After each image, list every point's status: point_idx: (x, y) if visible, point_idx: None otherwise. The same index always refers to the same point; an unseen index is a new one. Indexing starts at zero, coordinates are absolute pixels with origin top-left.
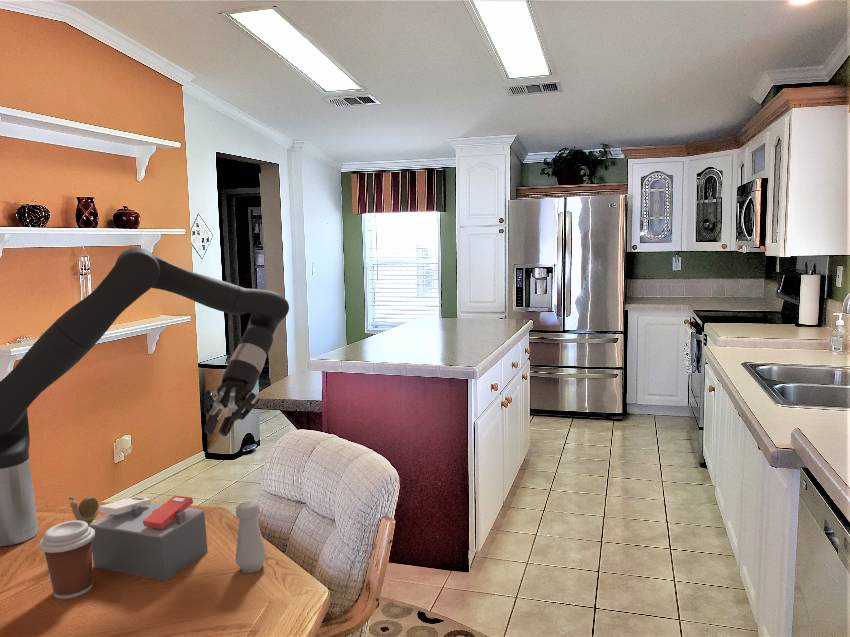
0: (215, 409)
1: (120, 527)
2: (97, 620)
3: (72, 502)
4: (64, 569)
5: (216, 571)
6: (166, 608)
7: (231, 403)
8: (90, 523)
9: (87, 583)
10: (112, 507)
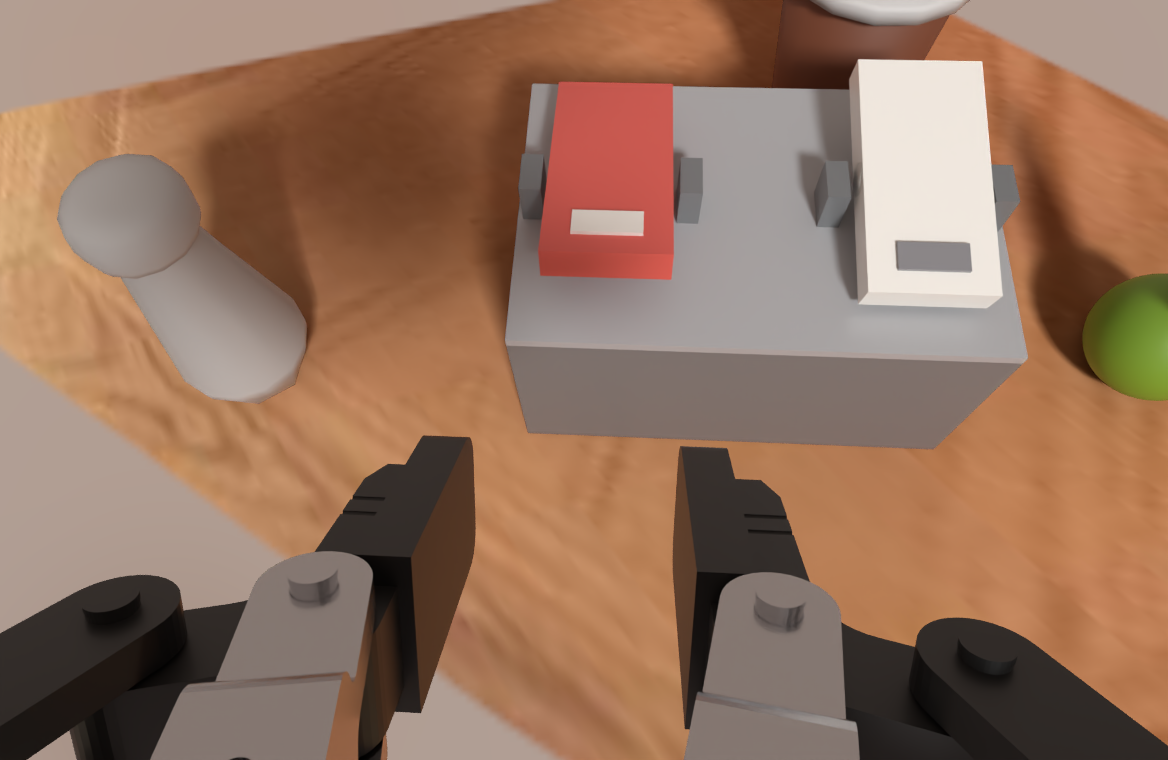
0: (718, 656)
1: (792, 100)
2: (599, 21)
3: None
4: None
5: (394, 311)
6: (433, 104)
7: (228, 707)
8: (1158, 295)
9: None
10: (898, 68)
